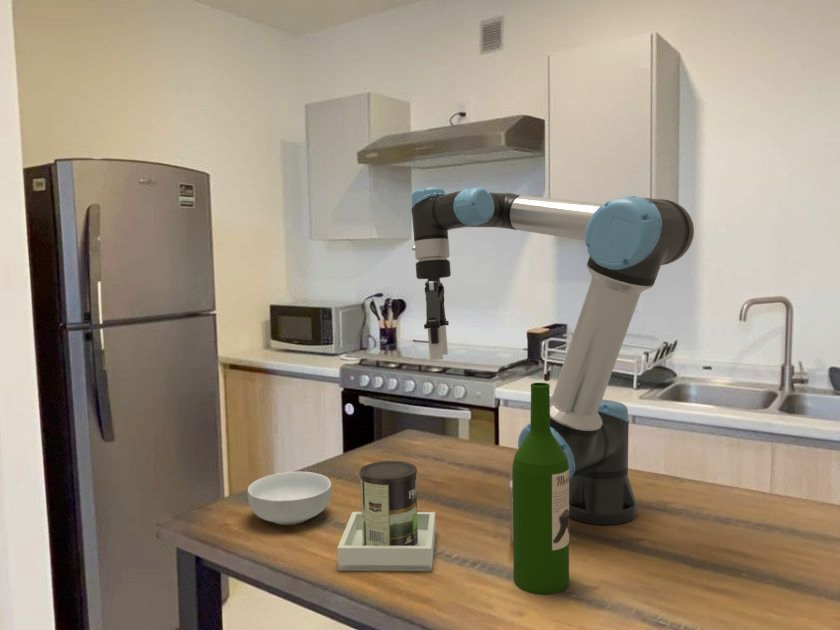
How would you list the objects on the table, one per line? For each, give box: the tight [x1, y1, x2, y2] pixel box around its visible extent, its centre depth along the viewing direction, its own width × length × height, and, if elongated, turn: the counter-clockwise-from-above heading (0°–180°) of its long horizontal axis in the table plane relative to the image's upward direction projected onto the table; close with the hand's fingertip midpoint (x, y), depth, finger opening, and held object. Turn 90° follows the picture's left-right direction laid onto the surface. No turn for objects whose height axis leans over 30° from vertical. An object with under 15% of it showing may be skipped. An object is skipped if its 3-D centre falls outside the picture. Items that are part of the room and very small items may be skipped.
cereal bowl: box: [246, 471, 332, 526], centre depth 139 cm, size 17×17×7 cm
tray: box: [336, 511, 436, 572], centre depth 123 cm, size 16×16×4 cm
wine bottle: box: [512, 382, 570, 595], centre depth 109 cm, size 9×9×32 cm
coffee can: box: [358, 460, 418, 546], centre depth 123 cm, size 10×10×14 cm
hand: (439, 357), depth 149 cm, fingers open, 13 cm apart
